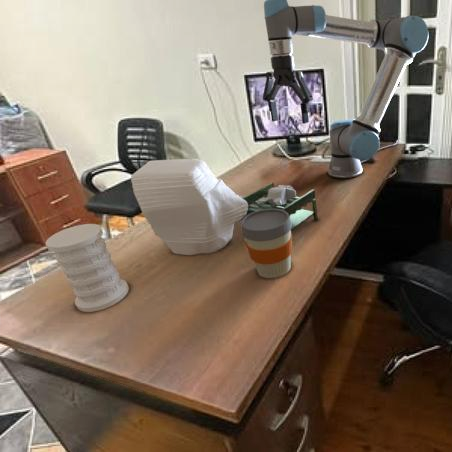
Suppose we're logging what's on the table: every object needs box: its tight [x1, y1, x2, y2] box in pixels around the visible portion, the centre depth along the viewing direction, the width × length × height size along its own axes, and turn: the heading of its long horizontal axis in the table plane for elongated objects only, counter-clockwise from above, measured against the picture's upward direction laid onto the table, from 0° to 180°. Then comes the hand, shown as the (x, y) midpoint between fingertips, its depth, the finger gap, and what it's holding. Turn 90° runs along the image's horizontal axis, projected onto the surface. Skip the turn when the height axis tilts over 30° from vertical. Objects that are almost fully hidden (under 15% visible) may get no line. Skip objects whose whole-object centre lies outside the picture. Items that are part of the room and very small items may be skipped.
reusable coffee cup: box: [240, 209, 293, 279], centre depth 91 cm, size 13×13×15 cm
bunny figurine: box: [258, 184, 297, 206], centre depth 112 cm, size 10×5×15 cm
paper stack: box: [130, 158, 248, 256], centre depth 101 cm, size 21×27×26 cm
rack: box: [242, 181, 319, 232], centre depth 114 cm, size 16×18×11 cm
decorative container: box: [45, 223, 130, 313], centre depth 84 cm, size 12×12×18 cm
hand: (290, 121), depth 124 cm, fingers open, 13 cm apart
